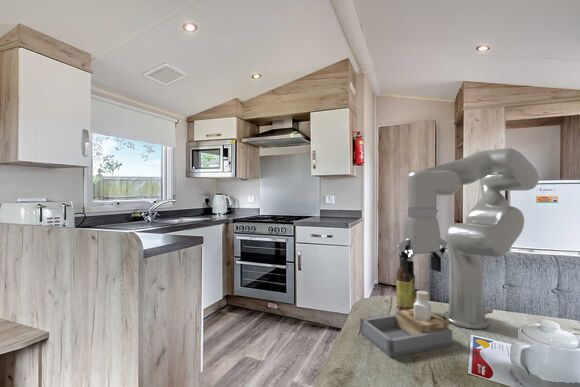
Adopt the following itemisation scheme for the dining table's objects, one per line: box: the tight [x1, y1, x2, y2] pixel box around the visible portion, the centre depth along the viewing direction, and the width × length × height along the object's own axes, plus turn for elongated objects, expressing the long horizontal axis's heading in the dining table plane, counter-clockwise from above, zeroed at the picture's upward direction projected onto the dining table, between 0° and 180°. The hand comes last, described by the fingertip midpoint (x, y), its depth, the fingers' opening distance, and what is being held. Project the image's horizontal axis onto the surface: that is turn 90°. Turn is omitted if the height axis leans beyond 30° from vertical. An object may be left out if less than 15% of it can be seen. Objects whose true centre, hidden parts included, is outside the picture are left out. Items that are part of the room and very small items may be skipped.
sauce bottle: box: [395, 254, 416, 311], centre depth 108 cm, size 6×6×20 cm
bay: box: [359, 313, 453, 358], centre depth 86 cm, size 20×14×4 cm
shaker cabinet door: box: [395, 309, 450, 335], centre depth 88 cm, size 9×11×4 cm
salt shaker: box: [414, 290, 432, 321], centre depth 88 cm, size 4×4×10 cm
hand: (422, 272), depth 88 cm, fingers open, 9 cm apart
